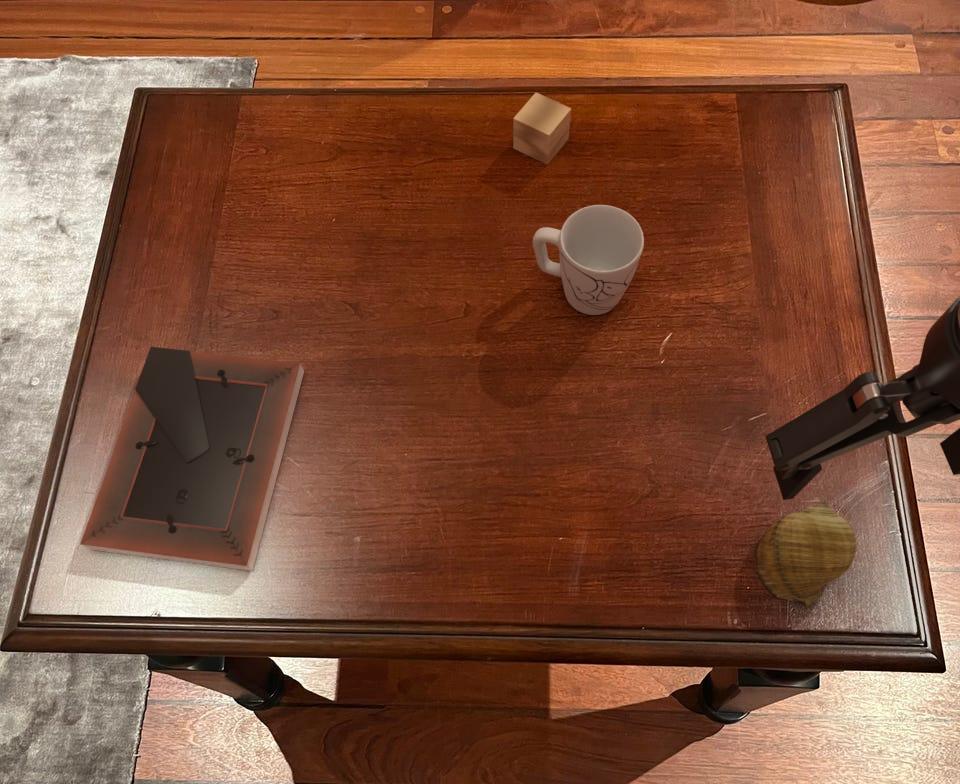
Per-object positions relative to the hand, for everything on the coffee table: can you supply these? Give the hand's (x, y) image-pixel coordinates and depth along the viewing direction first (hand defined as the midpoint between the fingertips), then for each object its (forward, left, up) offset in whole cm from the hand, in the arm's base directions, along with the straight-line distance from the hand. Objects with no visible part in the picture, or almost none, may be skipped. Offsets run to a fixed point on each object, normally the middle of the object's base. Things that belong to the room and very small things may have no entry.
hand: (866, 471), depth 63 cm
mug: (+32, -12, -16) cm, 37 cm away
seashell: (-1, +3, -16) cm, 16 cm away
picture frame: (+54, +27, -16) cm, 62 cm away
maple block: (+47, -28, -15) cm, 56 cm away
